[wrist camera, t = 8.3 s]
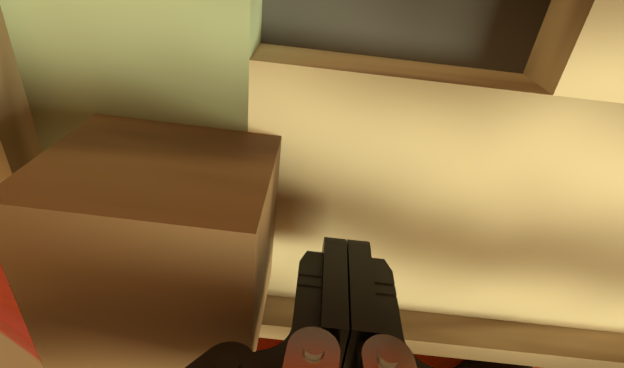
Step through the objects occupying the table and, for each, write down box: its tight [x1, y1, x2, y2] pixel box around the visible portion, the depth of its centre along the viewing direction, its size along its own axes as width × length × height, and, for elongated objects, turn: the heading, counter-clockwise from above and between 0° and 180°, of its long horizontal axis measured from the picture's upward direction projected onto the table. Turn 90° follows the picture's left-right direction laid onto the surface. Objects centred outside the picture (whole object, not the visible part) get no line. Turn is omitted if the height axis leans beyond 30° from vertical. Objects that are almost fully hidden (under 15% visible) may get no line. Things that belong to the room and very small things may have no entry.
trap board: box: [0, 0, 624, 368], centre depth 13 cm, size 18×30×4 cm, turn 84°
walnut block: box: [0, 113, 282, 368], centre depth 12 cm, size 6×6×5 cm
